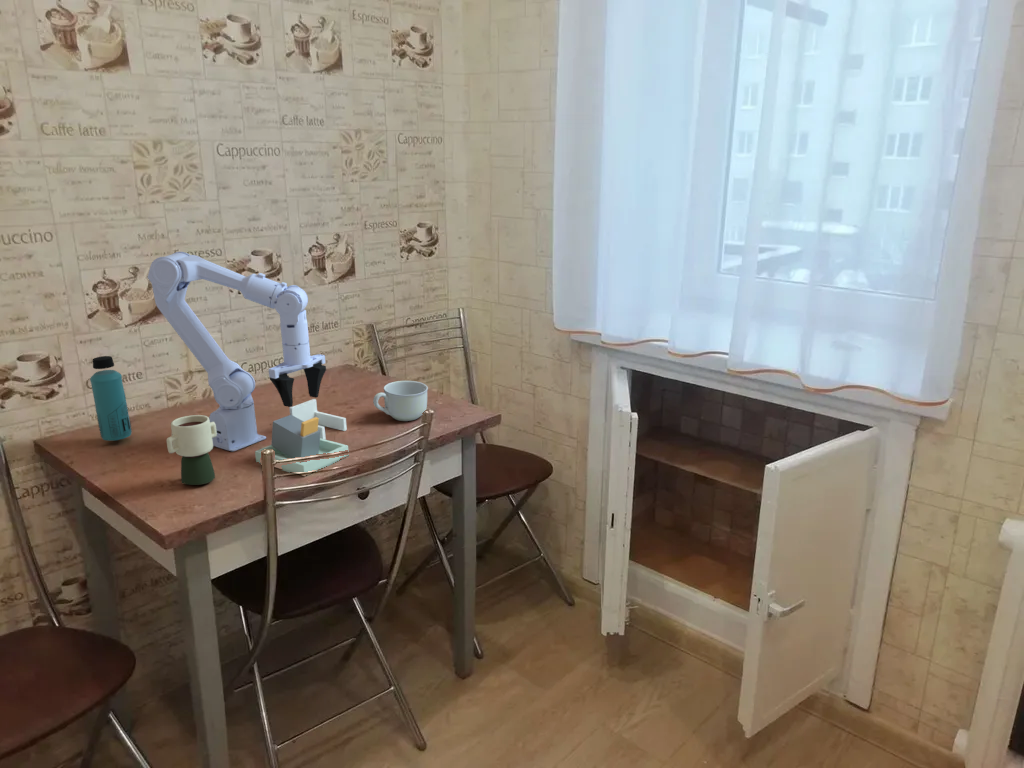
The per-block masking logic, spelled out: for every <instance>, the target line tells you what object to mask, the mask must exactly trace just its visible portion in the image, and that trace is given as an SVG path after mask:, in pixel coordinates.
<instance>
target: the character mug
mask: <svg viewBox="0 0 1024 768" xmlns="http://www.w3.org/2000/svg"><path fill="white" fill-rule="evenodd" d="M209 417H210V416H207V415H201V414H195V415H194V414H193V415H185V416H181V417H177V418H175V419H173V420H172V421H171V422H170V429H171V436H169V437H167V438H166V446H167V451H168V453H169V454H174V453H176V454H177V455H178V456H181V459H180V460H181V461H180V478H181V479H180V480H181V484H183V485H190V486H191V485H192V486H196V485H197V486H199V485H200V486H201V485H206V484H208V483H210V482H213V481H214V479H215V478H216V475H215V474H216V473H215V470H214V466H213V463H212V458H211V456H210V454H209V452H211V451H213V449H214V446H213V441H212V438H214V437H216V436H217V430H216V424H215V422H210V420H209ZM211 432H212V433H211Z"/></svg>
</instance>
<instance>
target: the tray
mask: <svg viewBox="0 0 1024 768" xmlns="http://www.w3.org/2000/svg"><path fill="white" fill-rule="evenodd" d="M264 449H273V450H274V451H275V459H276V460H283V459H287V458H291V457H290V456H288V455H286V454H284V453H283V452H281V451H279V450H278V449H276V448H274V447H273V446H271V444H270V445H268V446H265V447H262V448H260V449H257V450H255V451H254V455H255V462H256V463H257V462H259V463H258V464H261V463H260V458H261V451H262V450H264ZM345 450H348V451H349V445H347V444H344V443H340V442H336V441H332V440H328V439H322V438H320V444H319V454H323V453H326V454H327V453H334V452H339V451H345ZM349 454H350V453H349ZM349 454H348V455H344V456H339V457H335V458H329V459H320V460H310V461H307V462H302V463H300V462H296V463H292V464H287V465H282V466H281V467H282V469H283V470H282V471H284V472H287V473H290V472H308V471H312V470H318V469H321V468H323V469H325V468H327V467H329V466H332V465H334V464H336V463H338V462H340V461H341V460H340V458H342V457H346V456H348V457H349V456H350V455H349ZM346 458H347V457H346ZM339 460H340V461H339ZM337 461H338V462H337ZM335 462H336V463H335ZM333 463H334V464H333ZM326 466H327V467H326ZM324 467H325V468H324ZM321 470H322V469H321Z"/></svg>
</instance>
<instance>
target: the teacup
mask: <svg viewBox="0 0 1024 768" xmlns="http://www.w3.org/2000/svg"><path fill="white" fill-rule="evenodd" d="M428 390H429V387H428V385H427V384H425V383H423V382H421V381H416V380H397V381H393V382H388V383H386V385H384V386H383V391H384V392H377V393H376V394H375V395H374V397H373V403H372V404H373V406H374V407H375V408H376V409H378V410H379V411H381V412H384V413H385V414H386V415H389V416H390V417H391V418H393V419H394V420H396V421H401V422H408V421H409V422H410V421H416V420H417V419H419V418H420V417H421V416H423V414H422V413H423V412H424V411H425V410H427V409H428ZM380 398H384V407H383V406H381V405H380V403H379V400H380ZM425 412H426V411H425ZM425 412H424V413H425Z"/></svg>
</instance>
